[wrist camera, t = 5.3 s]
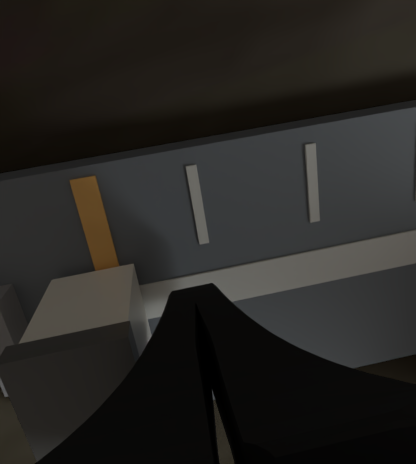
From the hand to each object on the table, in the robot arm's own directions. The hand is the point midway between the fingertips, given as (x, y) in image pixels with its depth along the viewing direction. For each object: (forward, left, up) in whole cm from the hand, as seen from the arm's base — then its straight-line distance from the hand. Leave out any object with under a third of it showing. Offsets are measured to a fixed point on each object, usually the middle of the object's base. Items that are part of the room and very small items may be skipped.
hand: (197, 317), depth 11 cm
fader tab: (0, +3, -1) cm, 3 cm away
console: (0, -5, -3) cm, 5 cm away
